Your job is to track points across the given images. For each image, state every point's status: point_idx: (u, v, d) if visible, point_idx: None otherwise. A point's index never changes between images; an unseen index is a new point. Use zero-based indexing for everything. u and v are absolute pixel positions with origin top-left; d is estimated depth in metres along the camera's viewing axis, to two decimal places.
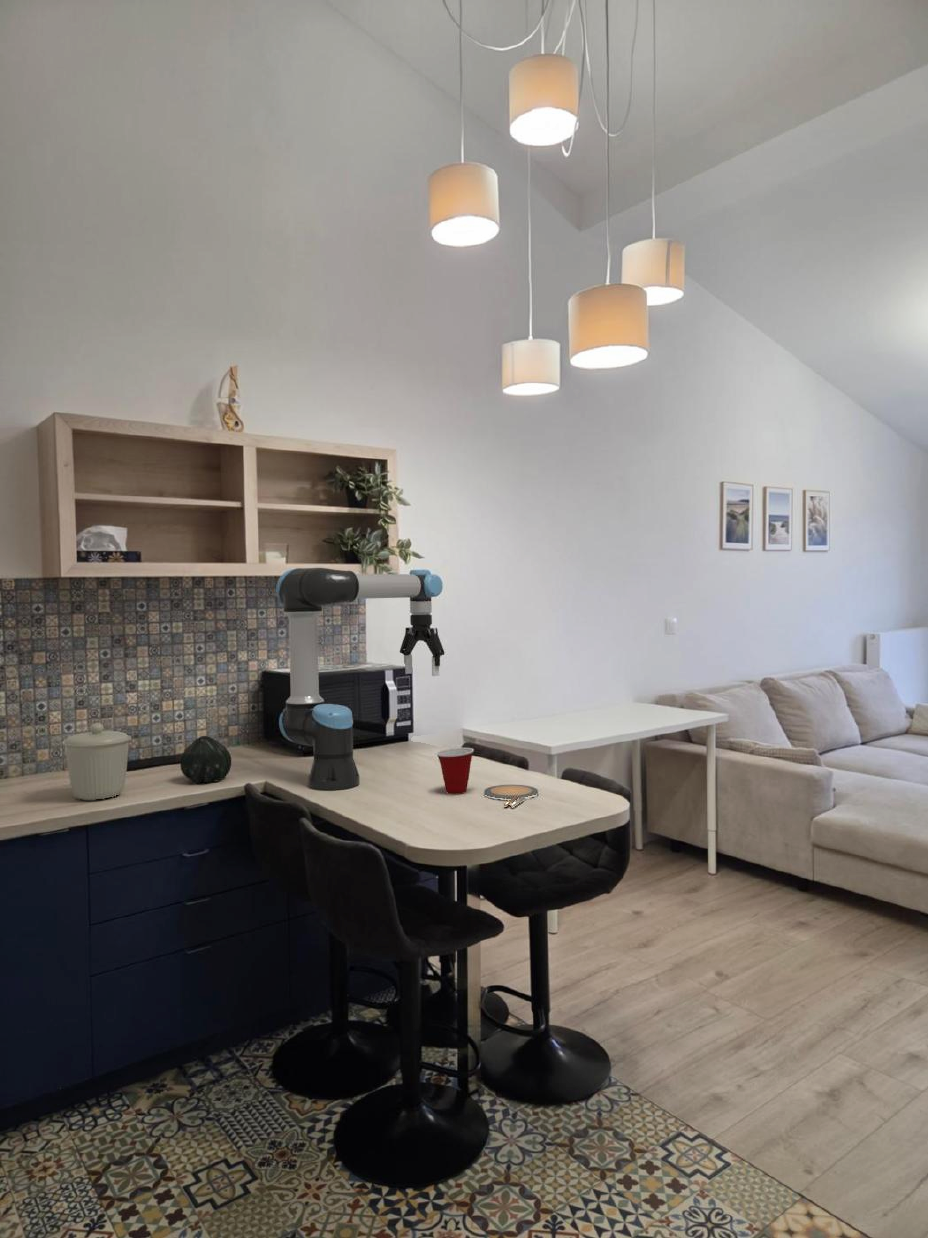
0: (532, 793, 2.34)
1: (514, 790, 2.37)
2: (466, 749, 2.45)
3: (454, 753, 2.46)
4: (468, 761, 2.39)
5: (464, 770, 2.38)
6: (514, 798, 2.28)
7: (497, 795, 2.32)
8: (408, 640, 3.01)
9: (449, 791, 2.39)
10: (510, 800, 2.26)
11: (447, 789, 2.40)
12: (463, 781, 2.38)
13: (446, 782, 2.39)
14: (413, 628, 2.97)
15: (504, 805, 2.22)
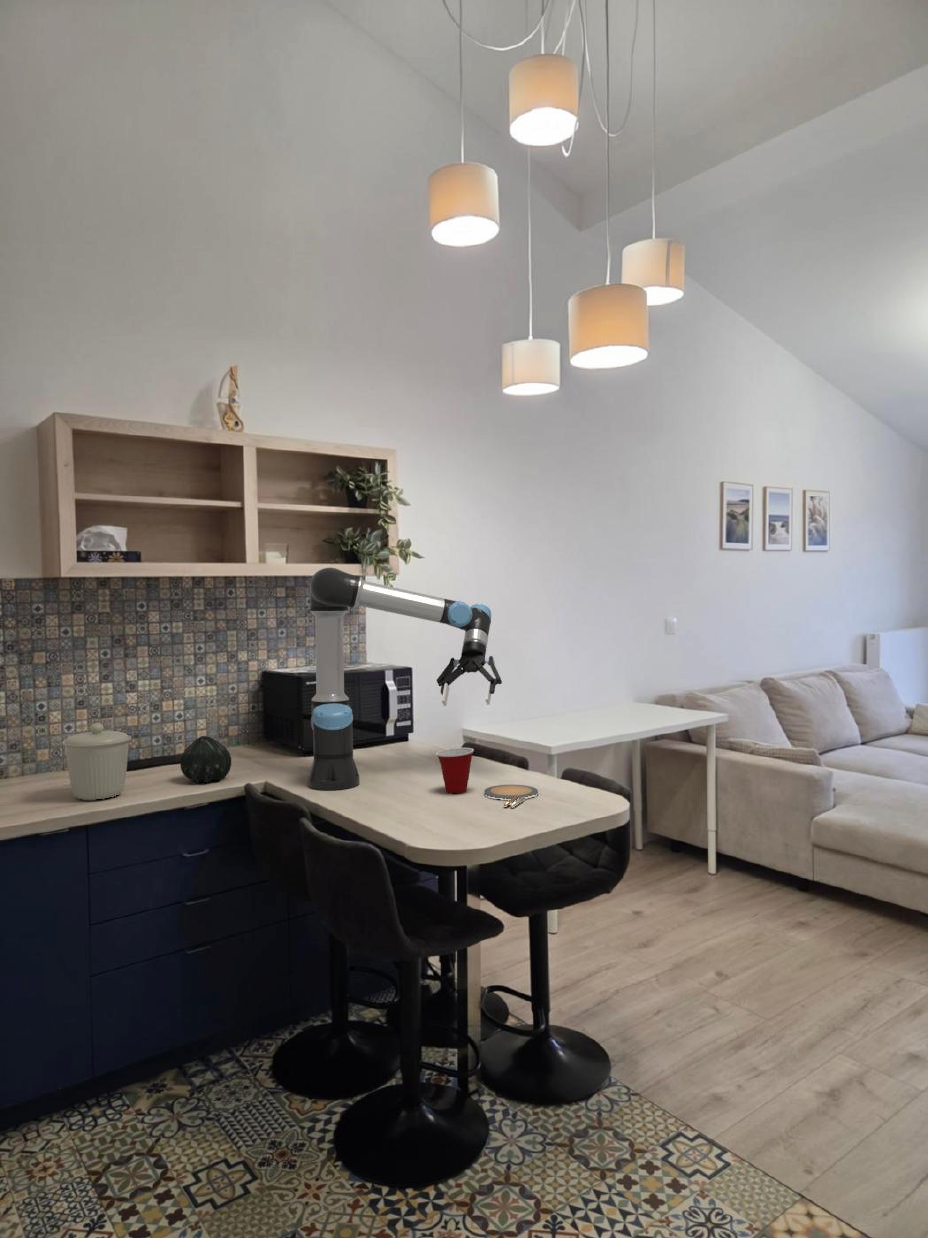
0: (532, 793, 2.34)
1: (514, 790, 2.37)
2: (466, 749, 2.45)
3: (454, 753, 2.46)
4: (468, 761, 2.39)
5: (464, 770, 2.38)
6: (514, 798, 2.28)
7: (497, 795, 2.32)
8: (449, 672, 2.64)
9: (449, 791, 2.39)
10: (510, 800, 2.26)
11: (447, 789, 2.40)
12: (463, 781, 2.38)
13: (446, 782, 2.39)
14: (463, 658, 2.65)
15: (504, 805, 2.22)
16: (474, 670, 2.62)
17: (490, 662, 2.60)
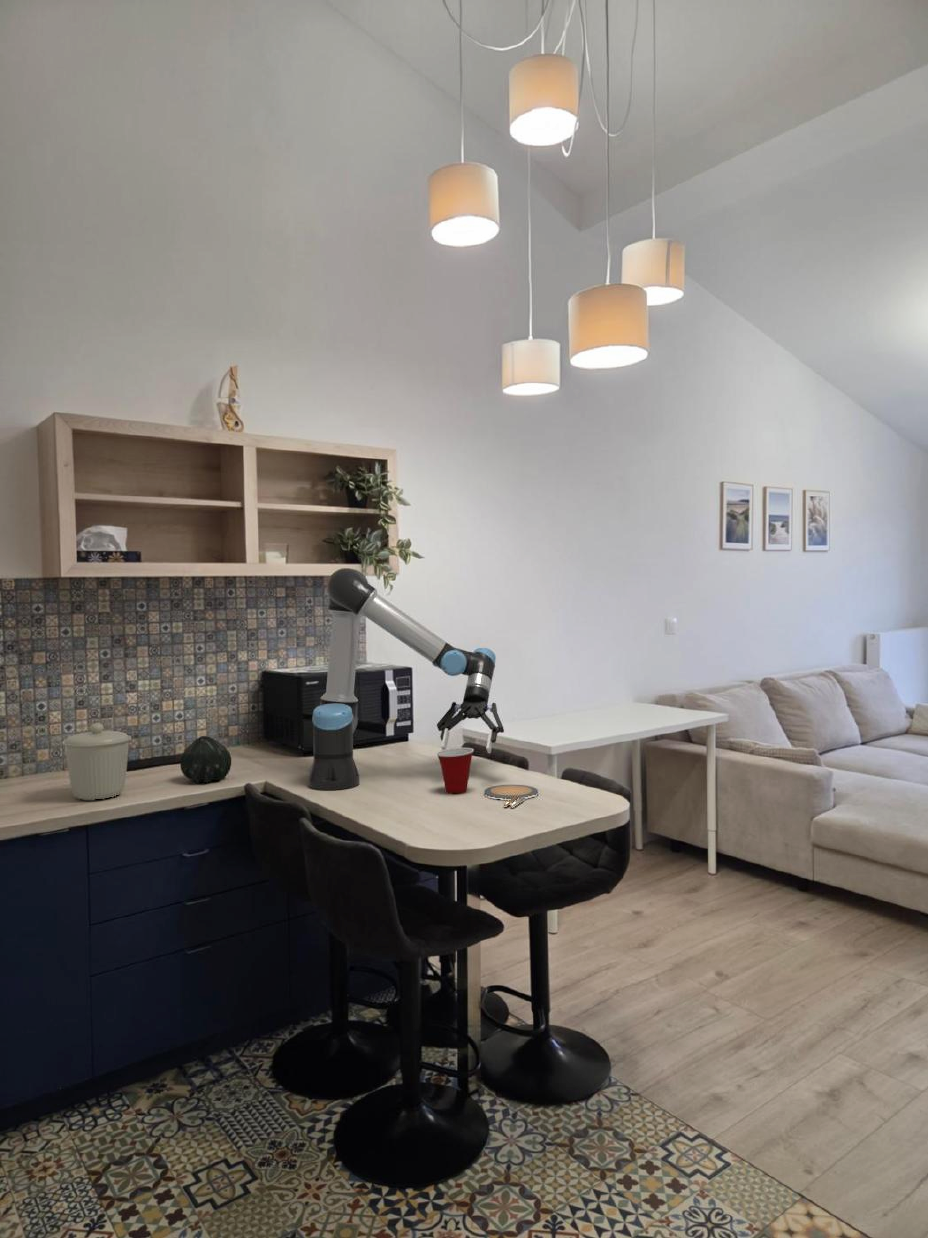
0: (532, 793, 2.34)
1: (514, 790, 2.37)
2: (466, 749, 2.45)
3: (454, 753, 2.46)
4: (468, 761, 2.39)
5: (464, 770, 2.38)
6: (514, 798, 2.28)
7: (497, 795, 2.32)
8: (450, 717, 2.57)
9: (449, 791, 2.39)
10: (510, 800, 2.26)
11: (447, 789, 2.40)
12: (463, 781, 2.38)
13: (446, 782, 2.39)
14: (465, 703, 2.58)
15: (504, 805, 2.22)
16: (476, 716, 2.55)
17: (493, 709, 2.54)
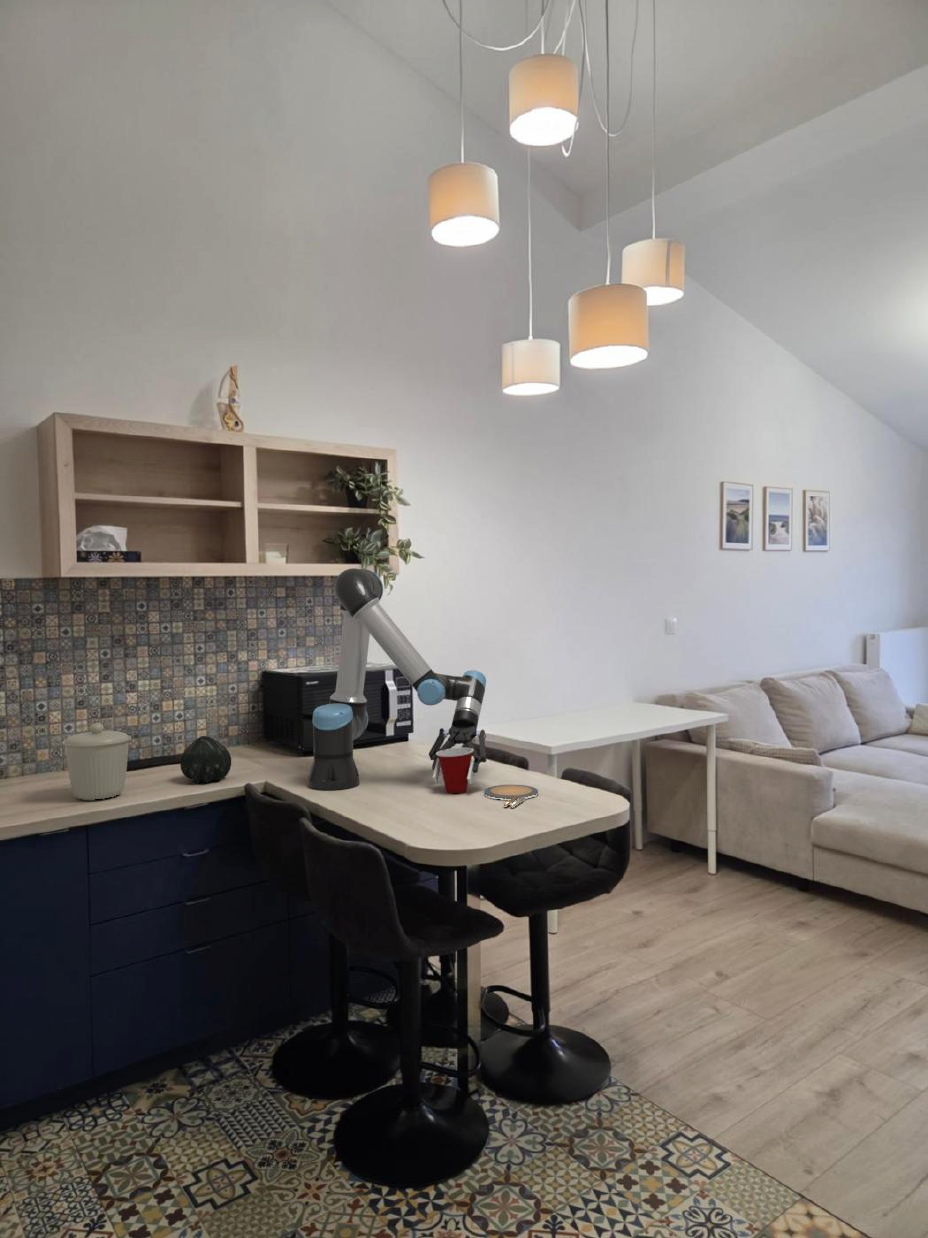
0: (532, 793, 2.34)
1: (514, 790, 2.37)
2: (466, 749, 2.45)
3: (454, 753, 2.46)
4: (468, 761, 2.39)
5: (464, 770, 2.38)
6: (514, 798, 2.28)
7: (497, 795, 2.32)
8: (440, 744, 2.48)
9: (449, 791, 2.39)
10: (510, 800, 2.26)
11: (447, 789, 2.40)
12: (463, 781, 2.38)
13: (446, 782, 2.39)
14: (453, 727, 2.50)
15: (504, 805, 2.22)
16: (465, 742, 2.47)
17: (480, 736, 2.45)
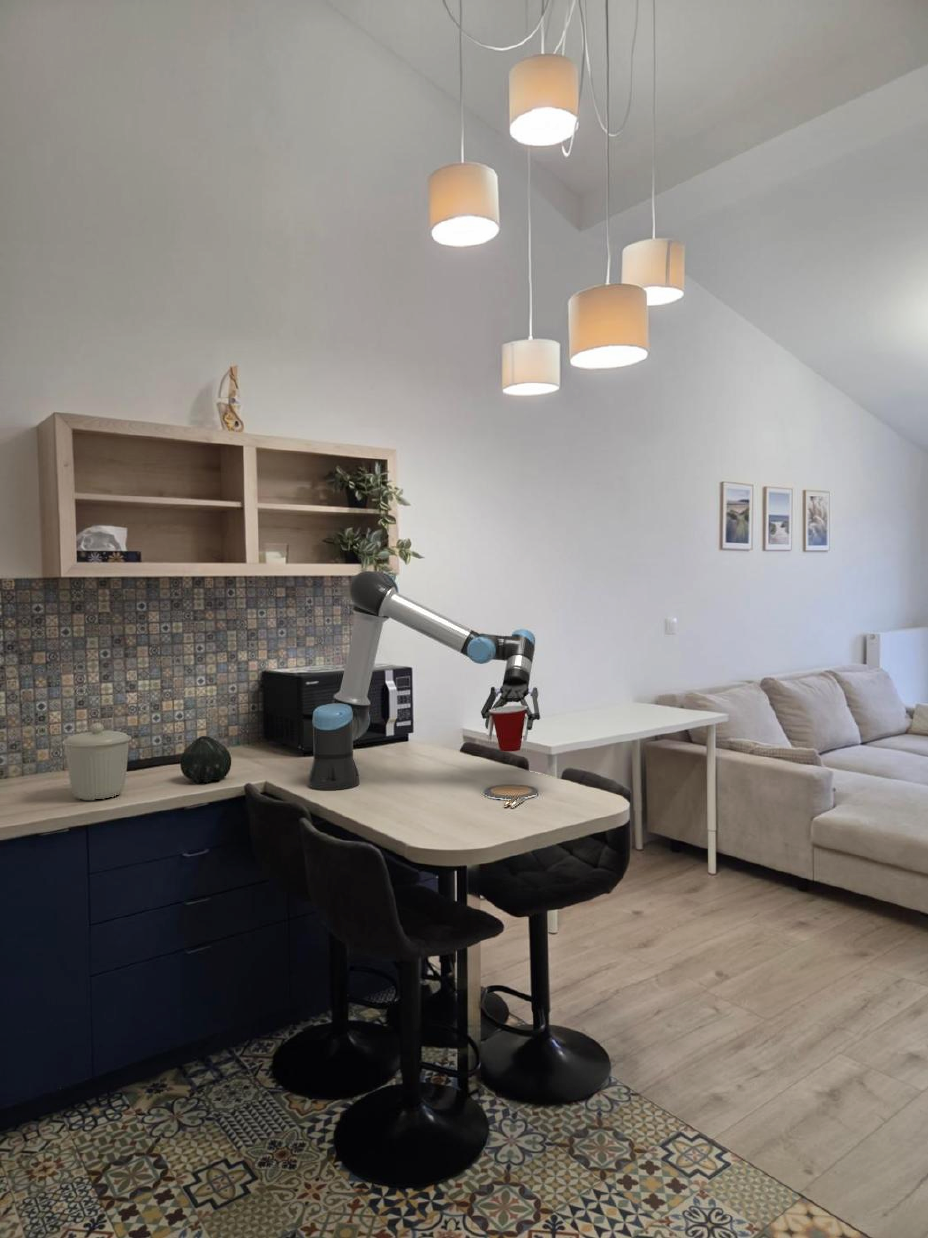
0: (532, 793, 2.34)
1: (514, 790, 2.37)
2: (519, 707, 2.40)
3: (506, 711, 2.41)
4: (522, 718, 2.34)
5: (519, 727, 2.34)
6: (514, 798, 2.28)
7: (497, 795, 2.32)
8: (492, 702, 2.44)
9: (503, 749, 2.35)
10: (510, 800, 2.26)
11: (501, 747, 2.35)
12: (517, 738, 2.34)
13: (500, 739, 2.35)
14: (504, 686, 2.45)
15: (504, 805, 2.22)
16: (517, 700, 2.42)
17: (533, 694, 2.41)
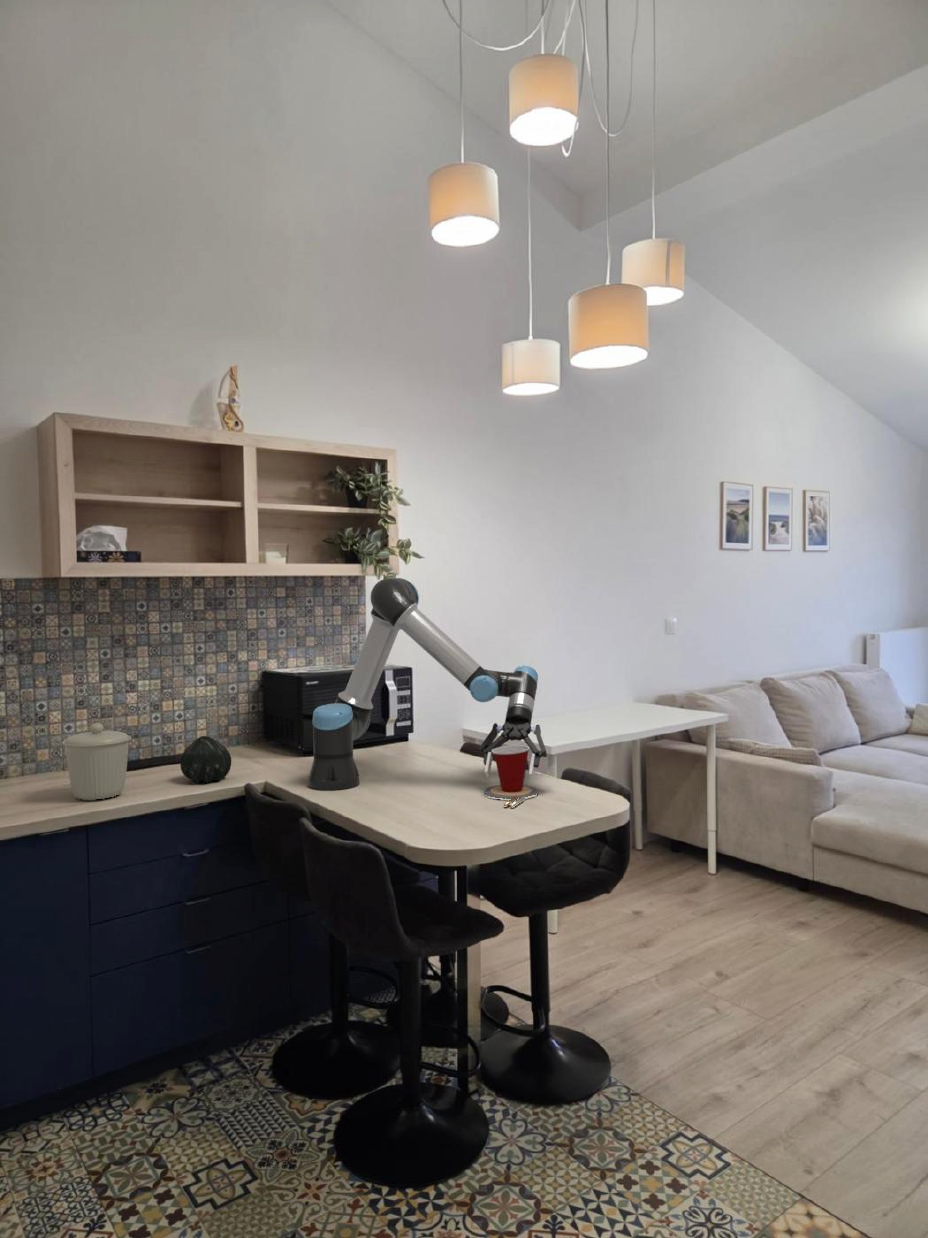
0: (532, 793, 2.34)
1: None
2: (521, 747, 2.41)
3: (509, 751, 2.42)
4: (524, 759, 2.35)
5: (521, 768, 2.34)
6: (514, 798, 2.28)
7: (497, 795, 2.32)
8: (492, 739, 2.44)
9: (505, 789, 2.35)
10: (510, 800, 2.26)
11: (503, 787, 2.36)
12: (519, 779, 2.35)
13: (502, 780, 2.35)
14: (507, 724, 2.46)
15: (504, 805, 2.22)
16: (519, 738, 2.43)
17: (536, 731, 2.41)
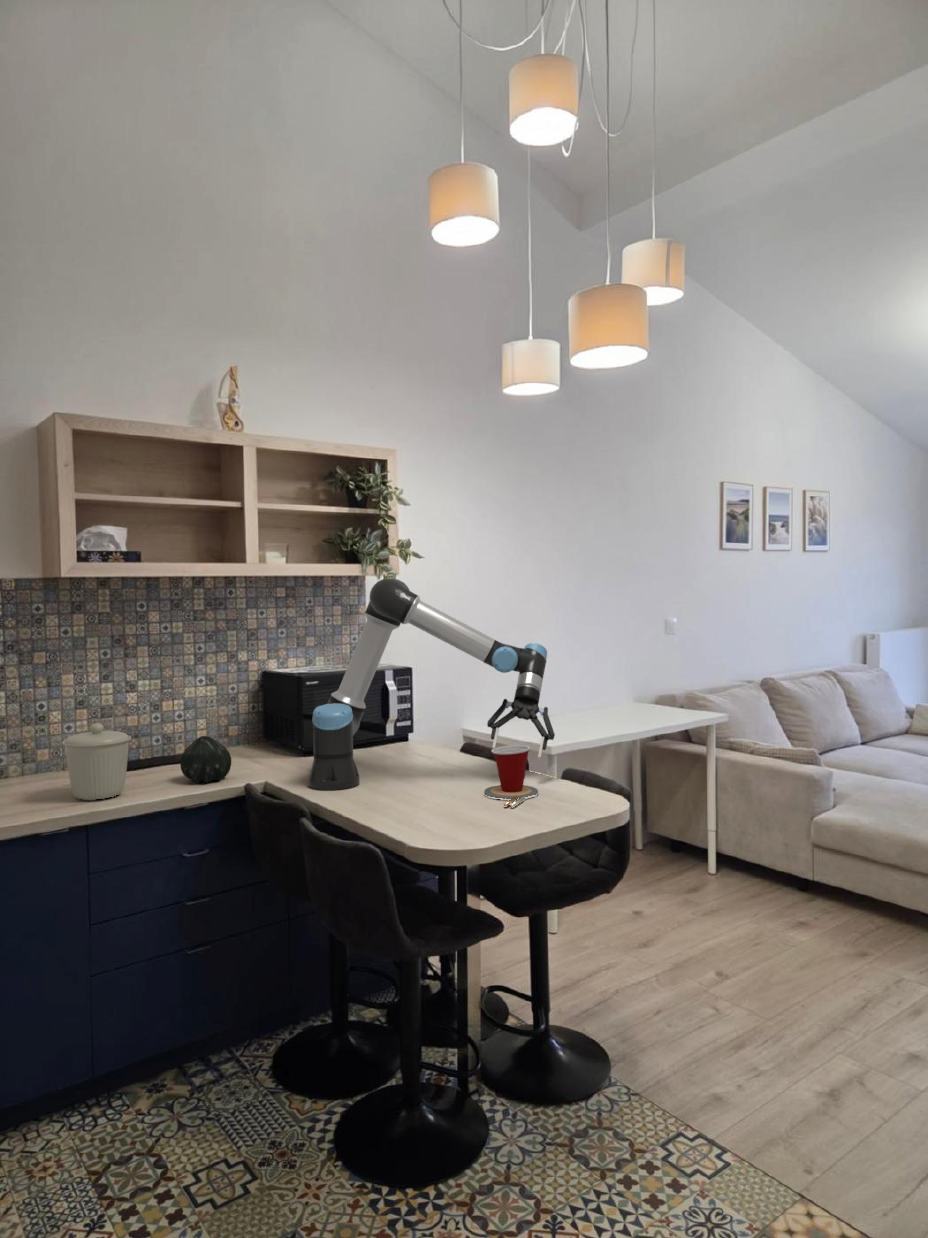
0: (532, 793, 2.34)
1: None
2: (521, 747, 2.41)
3: (509, 751, 2.42)
4: (525, 759, 2.35)
5: (521, 768, 2.34)
6: (514, 798, 2.28)
7: (497, 795, 2.32)
8: (500, 714, 2.56)
9: (505, 789, 2.35)
10: (510, 800, 2.26)
11: (503, 787, 2.36)
12: (520, 779, 2.35)
13: (502, 780, 2.35)
14: (516, 702, 2.57)
15: (504, 805, 2.22)
16: (527, 718, 2.55)
17: (545, 714, 2.55)
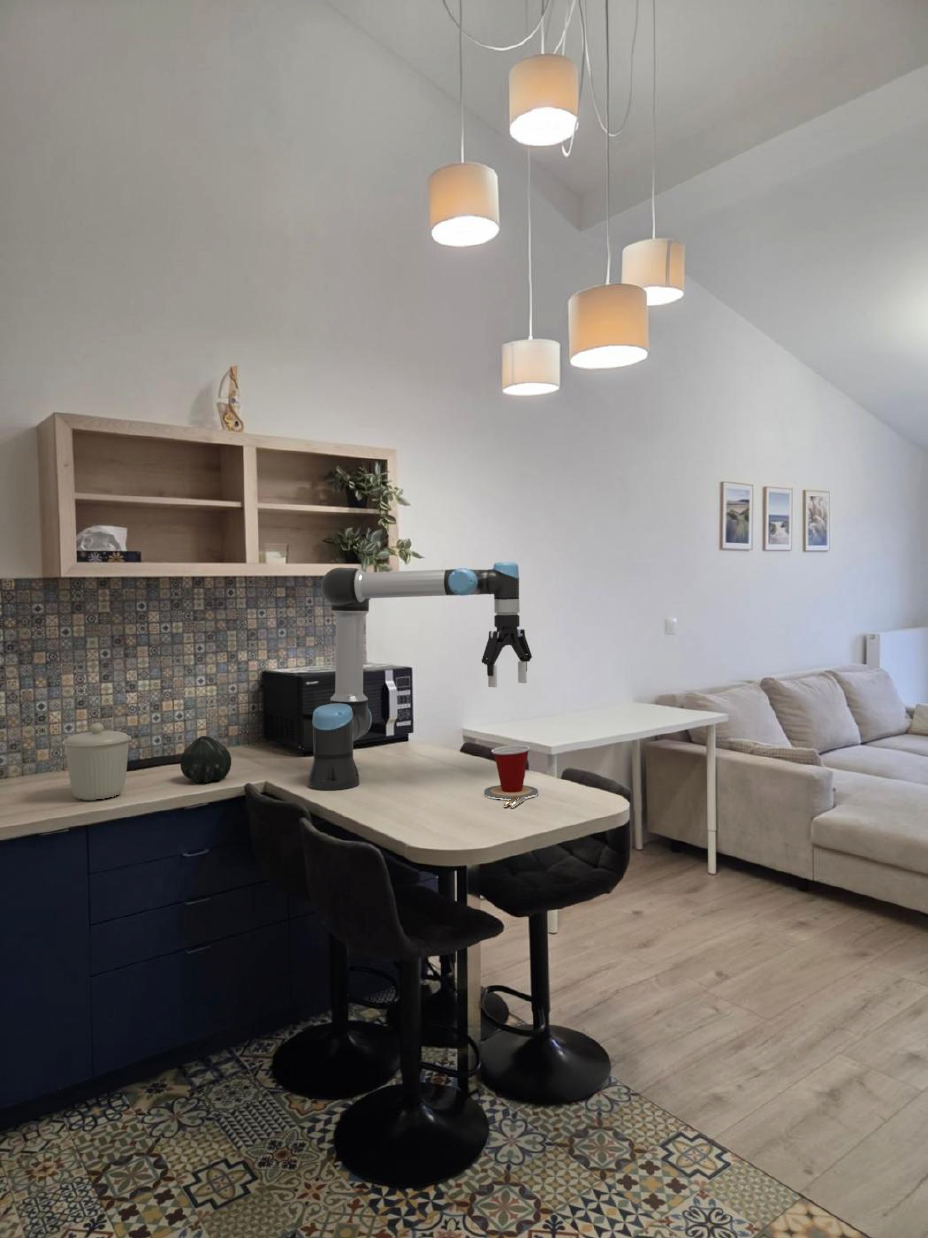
0: (532, 793, 2.34)
1: None
2: (521, 747, 2.41)
3: (509, 751, 2.42)
4: (525, 759, 2.35)
5: (521, 768, 2.34)
6: (514, 798, 2.28)
7: (497, 795, 2.32)
8: None
9: (505, 789, 2.35)
10: (510, 800, 2.26)
11: (503, 787, 2.36)
12: (520, 779, 2.35)
13: (502, 780, 2.35)
14: (503, 631, 2.51)
15: (504, 805, 2.22)
16: None
17: (523, 637, 2.57)
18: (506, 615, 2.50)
